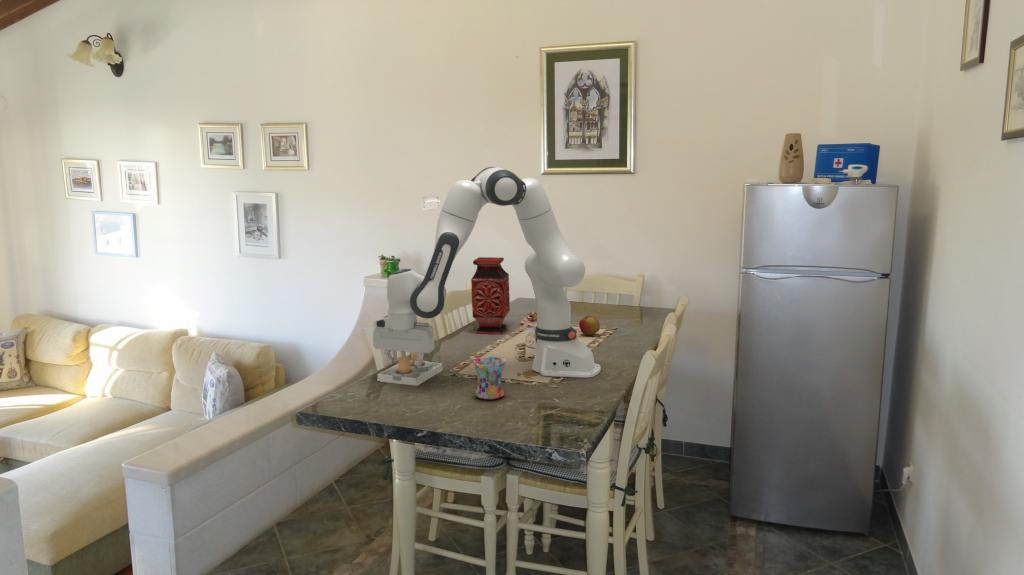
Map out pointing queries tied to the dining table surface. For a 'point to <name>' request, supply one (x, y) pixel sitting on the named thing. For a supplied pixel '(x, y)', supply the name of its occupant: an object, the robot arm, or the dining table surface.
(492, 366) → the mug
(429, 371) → the white candle tray
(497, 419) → the dining table surface
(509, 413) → the dining table surface
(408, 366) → the orange pillar candle
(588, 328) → the apple
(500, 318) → the vase
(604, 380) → the dining table surface
